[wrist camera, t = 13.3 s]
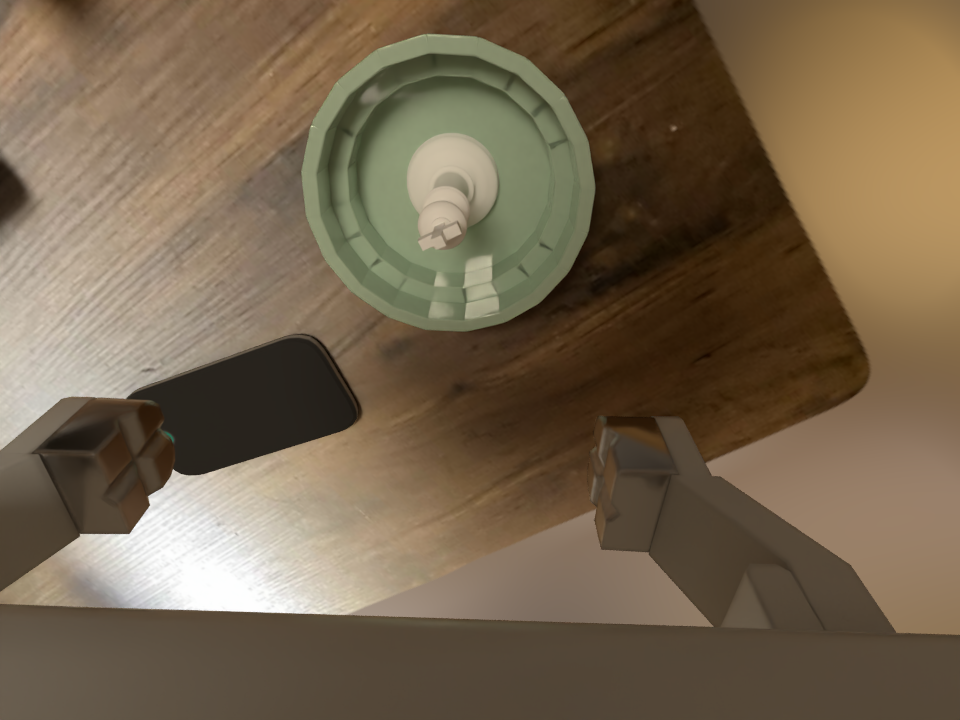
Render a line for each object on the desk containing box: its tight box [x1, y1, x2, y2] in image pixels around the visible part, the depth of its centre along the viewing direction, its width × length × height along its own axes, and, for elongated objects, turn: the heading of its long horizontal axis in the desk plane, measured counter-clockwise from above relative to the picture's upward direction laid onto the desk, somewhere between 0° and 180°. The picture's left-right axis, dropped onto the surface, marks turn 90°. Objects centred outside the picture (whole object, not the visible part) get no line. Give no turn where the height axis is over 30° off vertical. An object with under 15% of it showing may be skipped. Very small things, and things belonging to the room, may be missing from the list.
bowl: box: [301, 34, 596, 332], centre depth 27 cm, size 13×13×5 cm
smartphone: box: [126, 335, 358, 475], centre depth 37 cm, size 8×1×15 cm
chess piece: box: [407, 133, 499, 251], centre depth 25 cm, size 5×5×10 cm
